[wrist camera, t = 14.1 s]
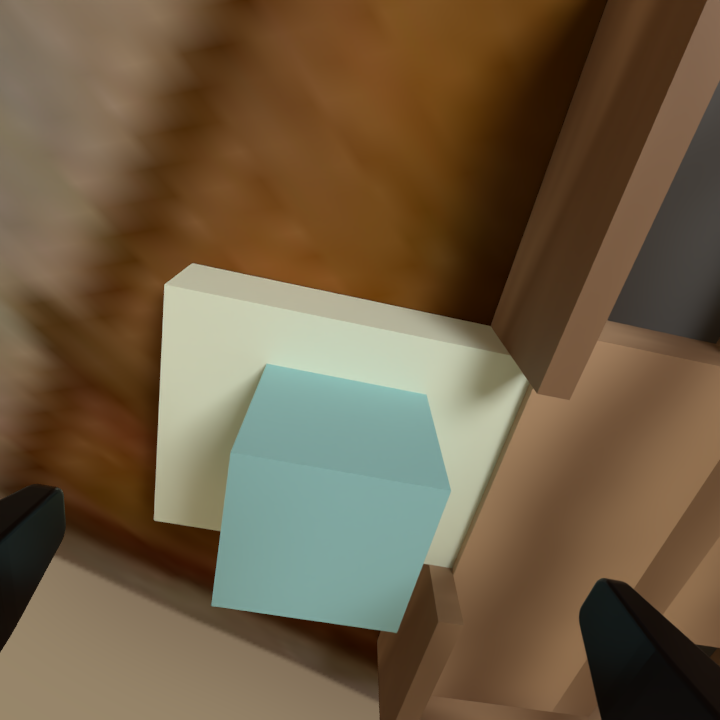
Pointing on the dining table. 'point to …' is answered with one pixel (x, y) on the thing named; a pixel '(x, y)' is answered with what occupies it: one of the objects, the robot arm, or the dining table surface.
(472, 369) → the board
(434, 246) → the dining table surface
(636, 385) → the box
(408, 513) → the block
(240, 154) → the dining table surface
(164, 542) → the dining table surface
